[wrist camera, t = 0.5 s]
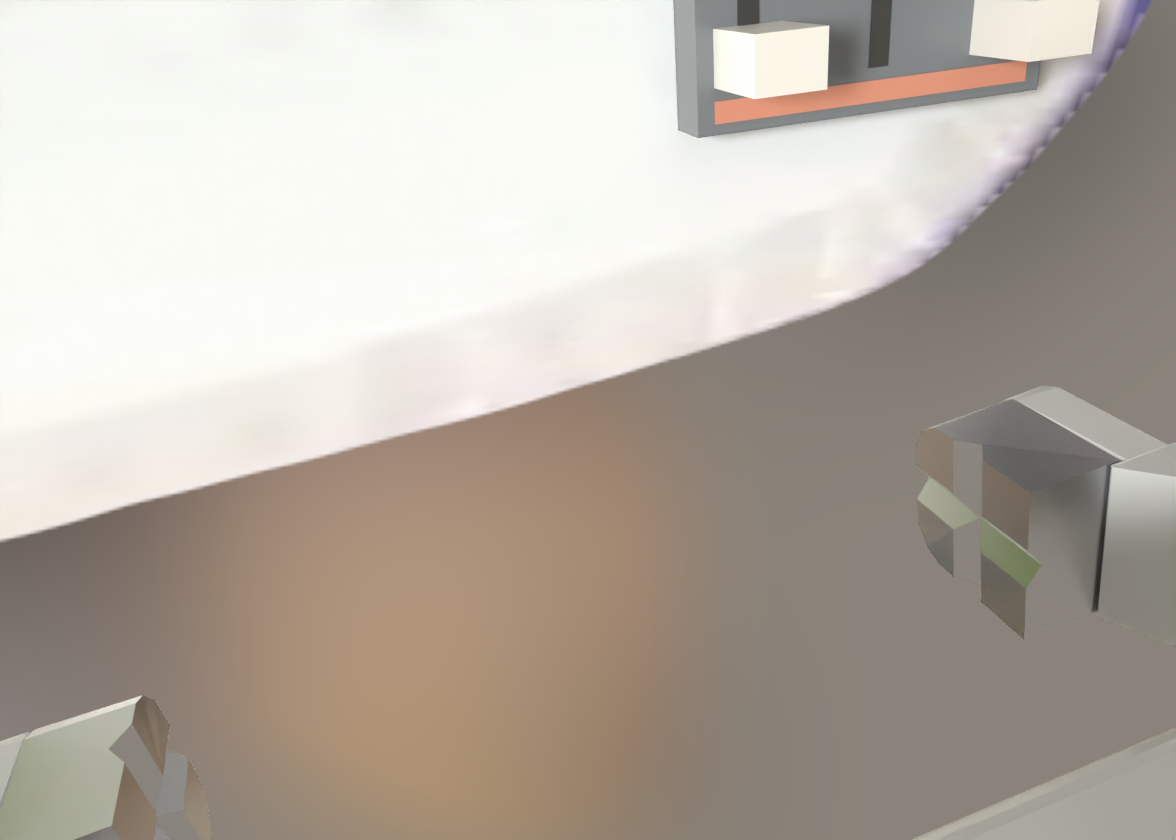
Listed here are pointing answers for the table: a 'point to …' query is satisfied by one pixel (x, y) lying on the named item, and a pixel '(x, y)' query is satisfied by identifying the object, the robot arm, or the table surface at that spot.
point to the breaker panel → (860, 55)
